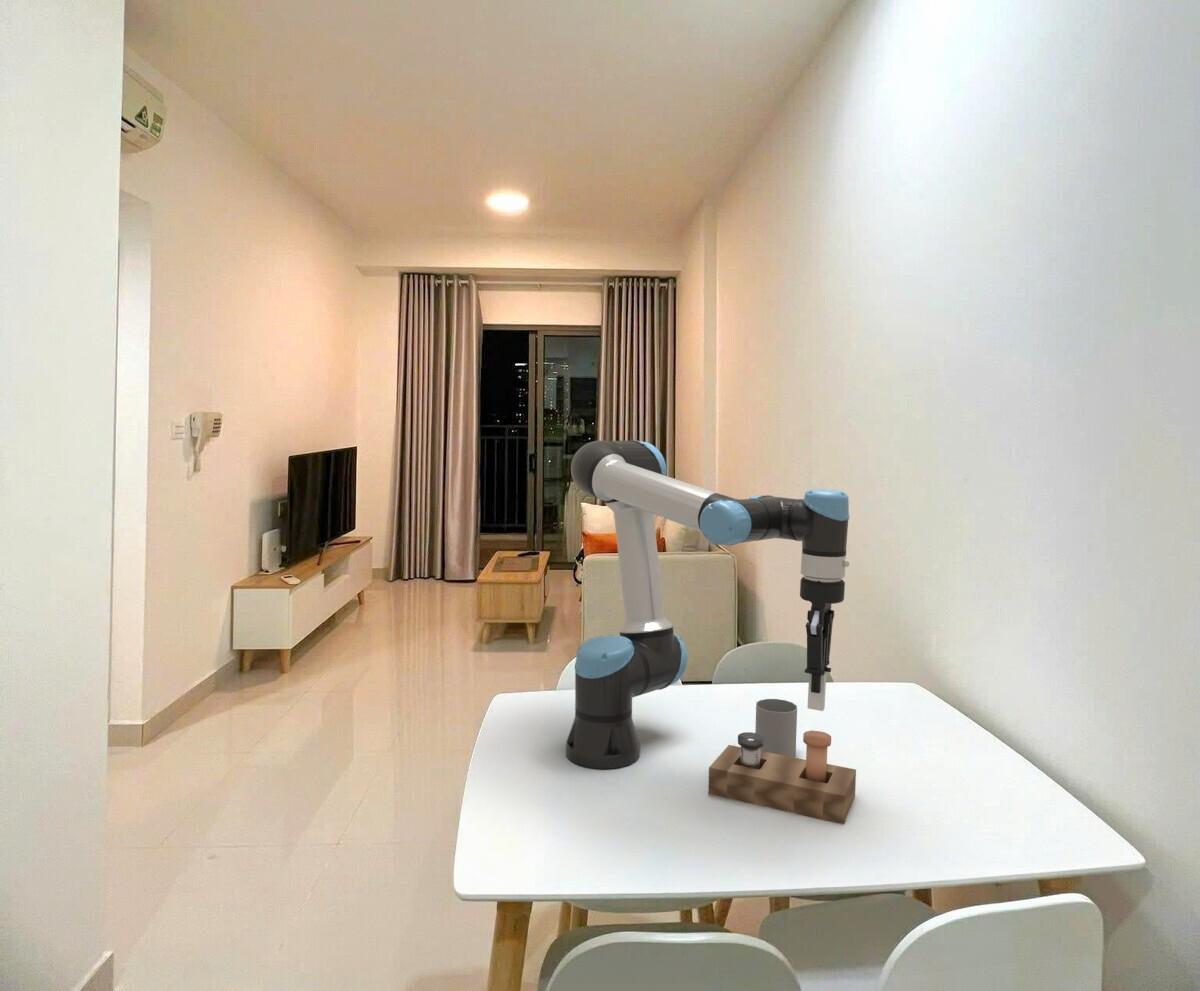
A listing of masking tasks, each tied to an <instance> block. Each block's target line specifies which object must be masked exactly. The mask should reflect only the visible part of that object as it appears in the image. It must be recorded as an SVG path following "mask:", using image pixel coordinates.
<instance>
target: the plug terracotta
mask: <svg viewBox="0 0 1200 991" xmlns="http://www.w3.org/2000/svg"><path fill="white" fill-rule="evenodd" d="M802 737H803V739H802V740H803V741H802V742H803V743H804V744H805V745H806V747H805V748H806V751H805V760H806V776H805V779H808V780H813V781H818V782H823V783H826V774H827V764H828V747H830V746H831V745H832V735H831V734H829V733H827V732H824V731H819V730H809V731H808V730H807V731H805V732H803V736H802Z"/></svg>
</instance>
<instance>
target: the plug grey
mask: <svg viewBox="0 0 1200 991" xmlns="http://www.w3.org/2000/svg"><path fill="white" fill-rule="evenodd" d="M737 744H738V746H739V747H741V760H740V766H745V767H749V768H754V769H759V770H760V752H761V747H763V746H764V737H763V736H762V735H760V734H757V733H755V732H749V731H748V732H745V731H744V732H741V733H739V734H738V735H737Z"/></svg>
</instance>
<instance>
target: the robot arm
mask: <svg viewBox="0 0 1200 991" xmlns="http://www.w3.org/2000/svg"><path fill="white" fill-rule="evenodd" d="M573 455H574V456H573V458H572V460H571V464H570V465H571V466H570V473H571V478H572V481H573V482H574V485H575V486H576V487H577V488H578V490H580V491H582V493H584V494H586V495H588V496H591V497H593V498H596V499H598V500H602V501H603V502H604V501H605V506H607V508H609V509H610V510H611V511H612V512H613V517H614V526H615V536H616V537H615V538H616V544H617V545H616V546H617V547H616V548H617V556H618V564H619V566H618V567H619V574H620V581H621V593H622V600H623V602H622V603H623V610H624V620H625V621H624V623H623V625H622V626H621V627H620V629H619V635H615V634H611V635H610V634H609V635H605V636H603V635H600V636H596V637H593V638H589V639H587V640H585V641H583V642H581V643H580V645H579V646H578V647H577V649H576V656H575V663H574V671H575V675H574V676H575V678H574V679H575V681H574V682H575V683H574V684H575V686H574V687H575V692H574V694H575V696H574V697H575V698H574V700H575V701H574V702H575V705H574V706H575V708H574V710H575V712H574V719H573V722H572V725H571V728H570V731H569V734H568V737H567V740H566V743H565V744H566V746H565V756H566V757H567V759H569V760H570V762H572V763H574V764H576V765H579V766H581V767H585V768H592V769H599V770H601V769H602V770H604V769H605V770H607V769H617V768H623V767H626V766H630V765H632V764H633V763H635V762H636V761H638V760H639V759H640V756H641V743H640V739H639V737H638V733H637V730H636V727H635V724H634V720H633V698H635V697H638V696H641V695H645V694H648V693H651V692H655V691H660V690H661V691H662V690H664V689H666V688H668V687H669V686H671V685H673V684H676V683H677V682H678V681H679V680H680V679H681V678H682V677H683V676H684V673H685V672H686V670H687V664H688V651H687V648H686V647H687V646H686V645H685V642H684V641H683V640H681V637H680V635H678V634H677V633H676V632H674V627H673V626H674V625H673V623H672V622H670V621H669V620H668V619H667V618H666V616H665V615H666V614H665V607H664V598H663V588H662V578H661V571H660V562H659V554H658V545H657V534H656V526H655V525H656V524H655V516H654V515H656V516H658V517H661V518H664V519H666V520H669V521H671V522H674V523H676V524H679V525H682V526H685V527H687V528H691V529H693V530H695V531H698V532H700V533H702V535H703V537H704V538H706V540H707V541H708V542H709V543H710V544H713V545H718V546H735V545H738V544H743V543H749V542H758V541H765V540H766V541H767V540H772V539H782V540H789V541H790V540H791V541H795V542H796V541H797V542H801V546H802V547H801V559H800V560H801V561H800V574H801V575H802V577H801V578H800V583H799V584H800V585H799V586H800V587H799V588H800V589H799V596H800V597H799V598H800V599H802V600H804V601H806V602H810V604H811V606H810V610H808V611H807V621H808V622H806V624H805V629H806V667H805V669H804V673H805V674H808V690H807V692H808V693H807V706H806V707H807V709H809V710H815V711H820V712H824V710H825V708H826V707H825V706H826V704H825V703H826V689H827V688H826V687H827V686H826V685H827V673H831V672H832V668H831V667H828V666H829V664H830V655H831V654H830V652H831V643H832V635H833V634H832V631H833V623H834V618H835V610H832V605H833V604H840V603H842V602H843V601H844V600H845V587H846V586H845V585H846V582H845V581H844V579H845V578H844V577H845V576H846V567H847V568H848V567H849V566H850V561H848V560H846V559H847V543H848V542H847V541H848V530H849V529H848V528H849V520H850V513H849V512H850V511H849V508H850V507H849V505H850V504H849V501H850V500H849V495H848V494H847V493H846V492H845V491H842V490H838V489H836V490H835V489H821V488H819V489H817V488H816V489H814V488H813V489H808V490H806V492H805V493H804V497H803V499H802V498H792V497H791V498H790V497H782V496H781V497H780V496H773V495H769V494H768V495H752V496H750V497H749V498H743V499H739V498H734V497H731V496H728V495H724V494H721V493H718V492H716V491H714V490H713V491H712V490H710V489H706V488H703V487H701V486H698V485H694V484H692V483H688V482H686V481H682V480H679V479H677V478H673V477H670V476H667V465H666V461H665V458H664V456H663V454H662V453H661V451H660V450H659V449H658V448H656V447H655V446H654V445H653V444H652V443H649V442H648V441H647V442H646V441H640V440H636V439H635V440H634V439H633V440H594V441H591V442H588V443H586V444H584V445H583V446H581V447H580V448H579V449H578V450H577V451H576V453H575V454H573ZM843 578H844V579H843Z"/></svg>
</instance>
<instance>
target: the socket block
mask: <svg viewBox="0 0 1200 991" xmlns="http://www.w3.org/2000/svg"><path fill="white" fill-rule="evenodd" d="M740 760H741V746H736V745H732V744H728V745H727V746H726V747H725V749H723V751H722V752H721V753H720V754H719V756H718V757H716V758H715V759H714V761H713V762H712V763H711V764H710V766H709V767H708V786H707V788H708V791H707V792H708V795H712V796H715V797H716V796H717V797H720V798H724V799H727V800H728V799H730V800H733V801H738V802H743V803H746V804H752V805H756V806H760V807H765V808H771V809H774V810H778V811H783V812H787V813H790V814H795V815H796V814H797V815H801V816H804V817H809V818H813V819H817V820H818V819H819V820H822V821H827V822H832V823H836V824H841V825H844V824H845V823H846V819H847V817H848V814H849V813H850V809H851V807H852V805H853V803H854V799H855V797H856V781H857V778H856V777H857V769H856V768H851V767H846V766H845V767H844V766H840V765H835V764H830V763H827V774H826V783H823V782H818V781H813V780H808V779H805V776H806V759H803V758H800V757H789V756H784V755H779V754H773V753H768V752H763V751H761V752H760V770H759V769H754V768H749V767H745V766H740Z"/></svg>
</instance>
